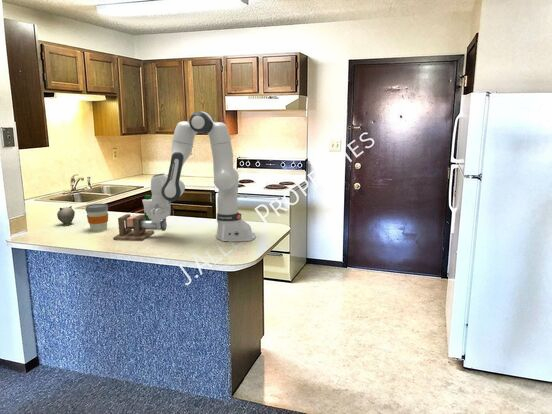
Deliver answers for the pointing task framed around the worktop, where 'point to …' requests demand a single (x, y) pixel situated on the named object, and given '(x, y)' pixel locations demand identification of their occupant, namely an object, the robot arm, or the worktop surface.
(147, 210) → the milk carton
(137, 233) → the bearing block
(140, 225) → the shaft
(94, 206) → the reusable coffee cup
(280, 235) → the worktop surface
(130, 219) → the spacer
